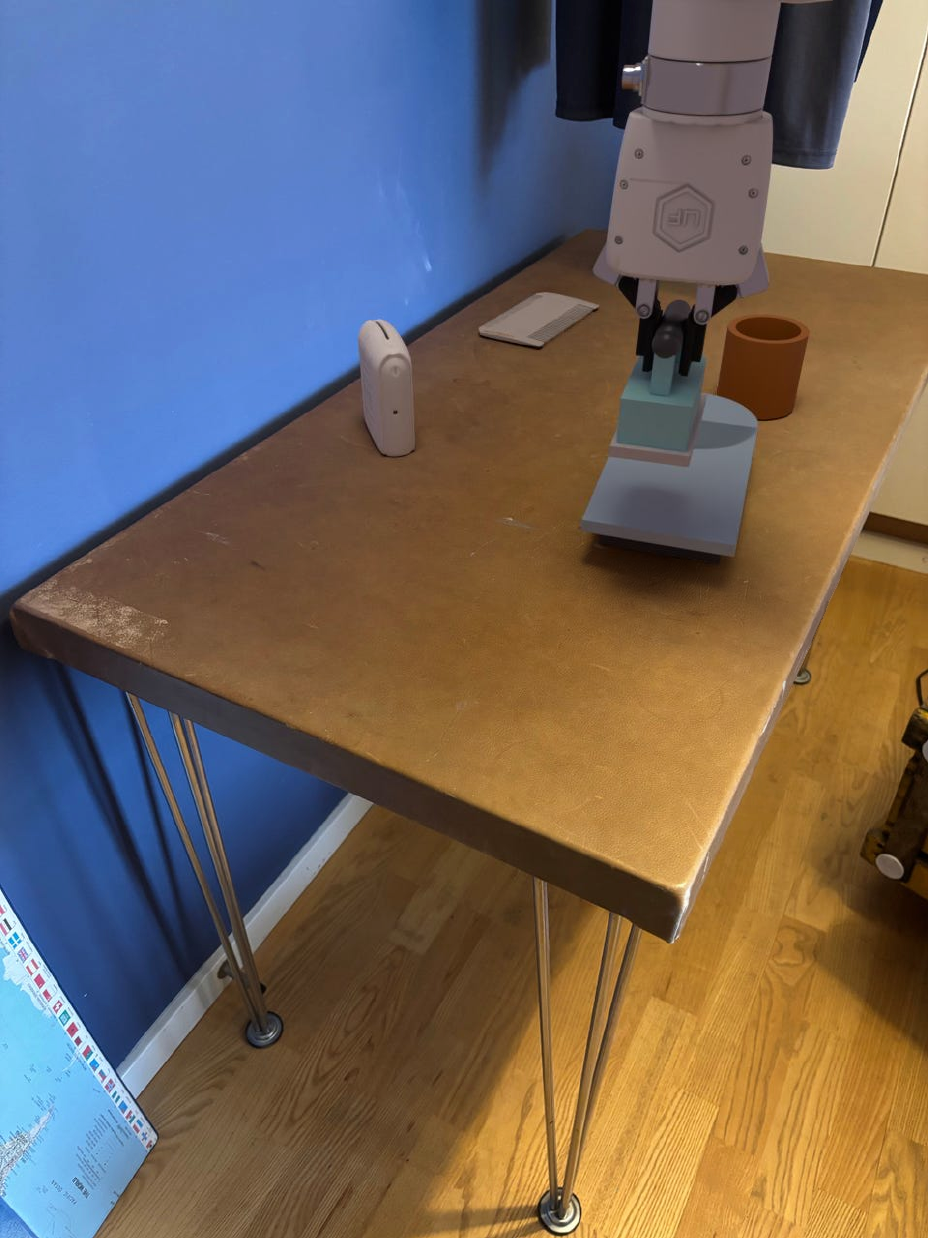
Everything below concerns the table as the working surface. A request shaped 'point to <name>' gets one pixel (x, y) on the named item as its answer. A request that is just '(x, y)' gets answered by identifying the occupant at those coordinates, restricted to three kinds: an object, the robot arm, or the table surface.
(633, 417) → the iron
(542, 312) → the grooming comb
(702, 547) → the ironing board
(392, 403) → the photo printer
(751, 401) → the brown cup
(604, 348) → the table surface
